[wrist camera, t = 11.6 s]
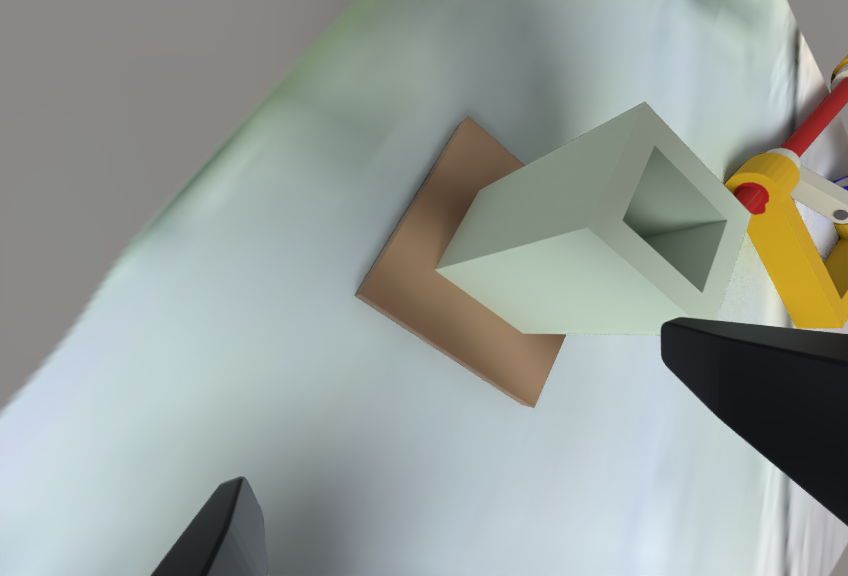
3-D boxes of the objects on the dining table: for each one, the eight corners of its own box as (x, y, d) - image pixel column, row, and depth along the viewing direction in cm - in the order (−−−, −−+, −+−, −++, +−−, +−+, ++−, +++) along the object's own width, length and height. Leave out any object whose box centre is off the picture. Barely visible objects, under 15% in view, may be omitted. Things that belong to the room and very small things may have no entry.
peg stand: (522, 405, 25) (591, 422, 20) (354, 295, 21) (391, 286, 17) (595, 241, 28) (668, 224, 23) (459, 124, 24) (514, 77, 20)
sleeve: (523, 333, 24) (711, 335, 15) (434, 270, 22) (587, 227, 13) (559, 256, 25) (751, 214, 16) (479, 190, 23) (644, 101, 14)
